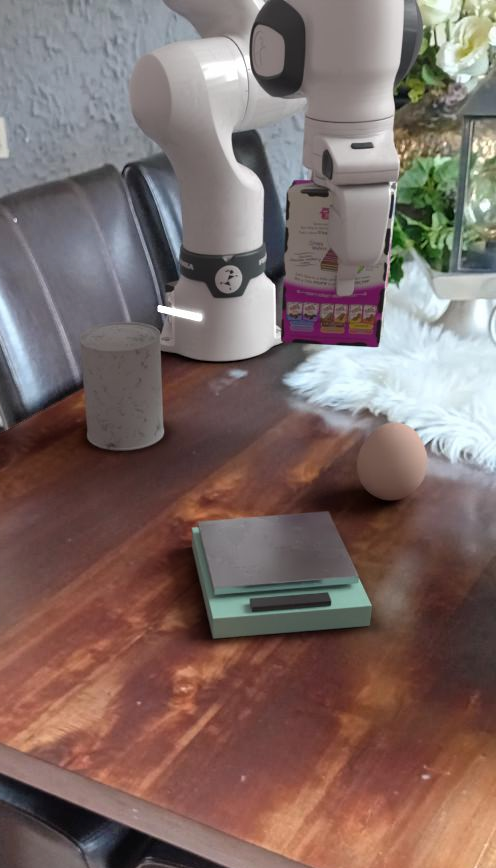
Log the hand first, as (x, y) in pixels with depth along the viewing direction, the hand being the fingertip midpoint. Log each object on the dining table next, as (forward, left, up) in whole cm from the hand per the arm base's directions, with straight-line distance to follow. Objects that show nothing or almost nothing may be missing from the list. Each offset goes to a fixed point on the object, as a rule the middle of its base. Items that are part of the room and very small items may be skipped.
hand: (335, 283), depth 110 cm
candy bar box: (0, 0, -6) cm, 6 cm away
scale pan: (+30, -12, -15) cm, 36 cm away
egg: (+16, +3, -18) cm, 25 cm away
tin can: (-5, -24, -18) cm, 30 cm away
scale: (+31, -12, -18) cm, 38 cm away
